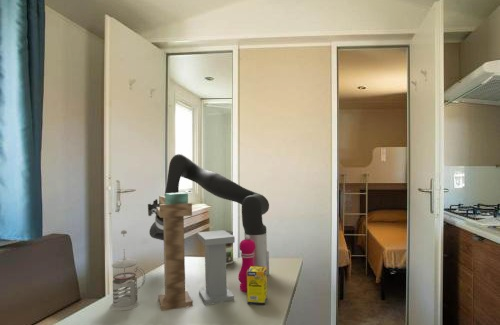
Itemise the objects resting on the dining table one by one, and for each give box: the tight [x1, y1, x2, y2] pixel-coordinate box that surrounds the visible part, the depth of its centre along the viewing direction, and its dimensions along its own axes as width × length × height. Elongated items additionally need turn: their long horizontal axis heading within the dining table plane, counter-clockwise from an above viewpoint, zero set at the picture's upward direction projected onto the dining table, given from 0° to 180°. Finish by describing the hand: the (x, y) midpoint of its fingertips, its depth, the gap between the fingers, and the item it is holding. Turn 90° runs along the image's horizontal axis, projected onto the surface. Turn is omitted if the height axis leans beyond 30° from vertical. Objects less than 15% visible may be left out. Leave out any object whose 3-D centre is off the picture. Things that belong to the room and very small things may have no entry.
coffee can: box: [225, 230, 234, 266], centre depth 166 cm, size 10×10×14 cm
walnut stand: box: [156, 202, 194, 311], centre depth 117 cm, size 10×13×34 cm
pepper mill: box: [237, 235, 256, 293], centre depth 129 cm, size 7×7×20 cm
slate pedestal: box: [196, 229, 236, 306], centre depth 121 cm, size 10×13×22 cm
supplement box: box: [246, 266, 268, 306], centre depth 117 cm, size 6×6×11 cm
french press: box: [109, 229, 146, 311], centre depth 117 cm, size 10×12×25 cm
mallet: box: [158, 192, 189, 205], centre depth 122 cm, size 6×21×5 cm, turn 28°
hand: (168, 200), depth 129 cm, fingers open, 8 cm apart
